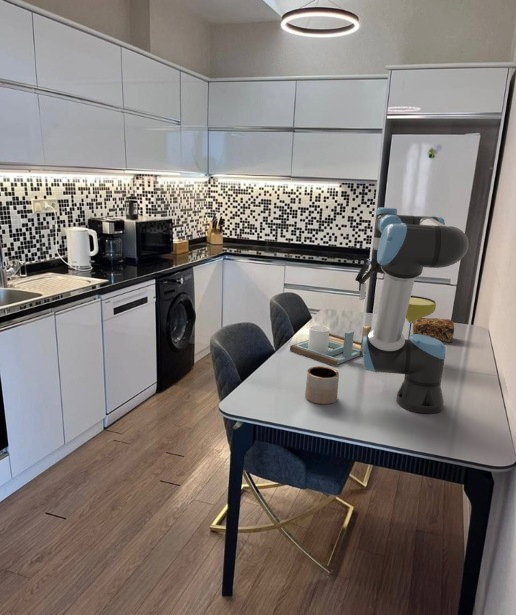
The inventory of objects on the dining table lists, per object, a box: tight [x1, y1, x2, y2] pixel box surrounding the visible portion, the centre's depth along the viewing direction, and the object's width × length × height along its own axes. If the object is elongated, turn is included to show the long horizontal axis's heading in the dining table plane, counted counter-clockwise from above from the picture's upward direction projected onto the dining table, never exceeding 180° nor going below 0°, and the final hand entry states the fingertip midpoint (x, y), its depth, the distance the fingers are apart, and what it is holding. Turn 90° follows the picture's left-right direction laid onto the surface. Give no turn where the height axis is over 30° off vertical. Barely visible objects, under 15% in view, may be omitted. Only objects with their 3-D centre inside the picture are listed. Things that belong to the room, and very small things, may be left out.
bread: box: [412, 317, 455, 343], centre depth 233 cm, size 19×11×10 cm, turn 74°
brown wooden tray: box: [289, 332, 363, 367], centre depth 210 cm, size 29×24×2 cm
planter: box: [304, 365, 340, 405], centre depth 161 cm, size 11×11×10 cm
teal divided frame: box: [295, 330, 360, 366], centre depth 205 cm, size 17×22×12 cm
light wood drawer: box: [329, 325, 372, 355], centre depth 215 cm, size 7×22×12 cm, turn 46°
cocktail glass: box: [405, 295, 437, 339], centre depth 205 cm, size 18×18×25 cm
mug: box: [307, 325, 330, 353], centre depth 208 cm, size 9×12×11 cm
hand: (376, 302), depth 187 cm, fingers open, 13 cm apart
